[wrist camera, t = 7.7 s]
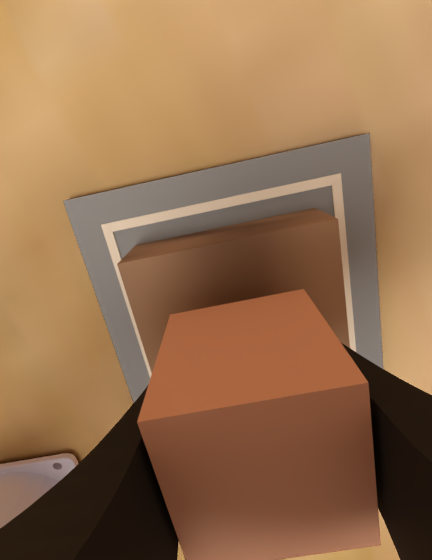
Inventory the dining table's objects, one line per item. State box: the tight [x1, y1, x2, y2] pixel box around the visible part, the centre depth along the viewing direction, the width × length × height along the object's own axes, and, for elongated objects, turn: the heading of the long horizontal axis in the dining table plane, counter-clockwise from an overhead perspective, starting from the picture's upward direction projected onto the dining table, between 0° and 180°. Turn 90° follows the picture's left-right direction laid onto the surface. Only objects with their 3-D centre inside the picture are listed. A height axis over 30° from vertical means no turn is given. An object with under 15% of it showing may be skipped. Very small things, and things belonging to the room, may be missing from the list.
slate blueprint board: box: [63, 133, 383, 403], centre depth 16 cm, size 13×13×1 cm
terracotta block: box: [137, 289, 381, 560], centre depth 10 cm, size 4×4×5 cm
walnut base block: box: [117, 208, 350, 373], centre depth 15 cm, size 8×8×3 cm
